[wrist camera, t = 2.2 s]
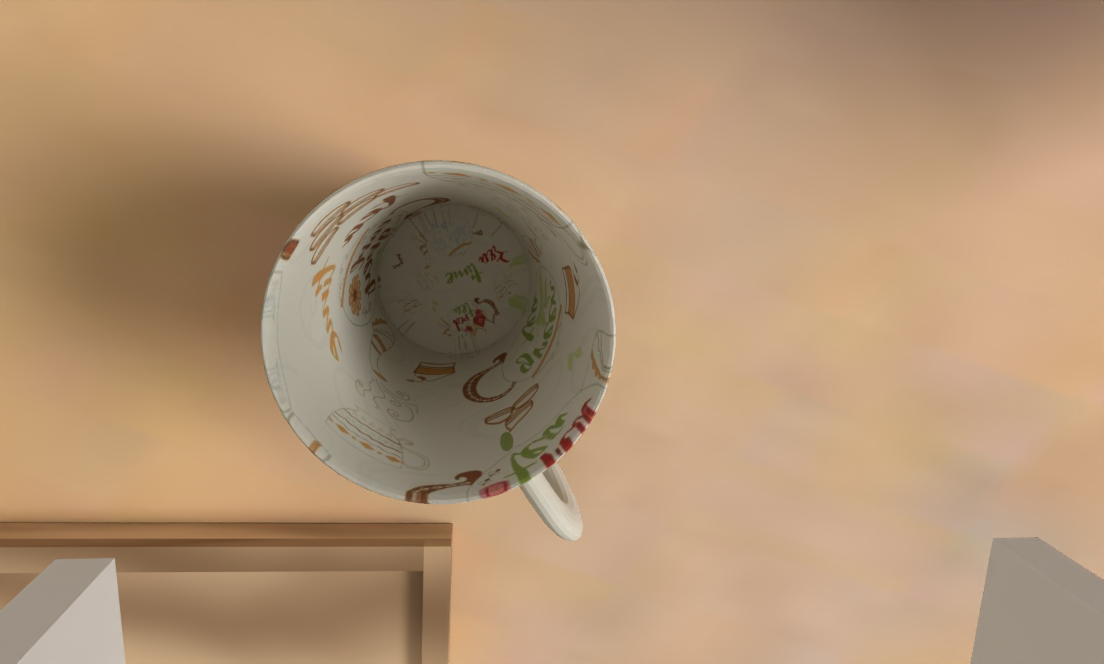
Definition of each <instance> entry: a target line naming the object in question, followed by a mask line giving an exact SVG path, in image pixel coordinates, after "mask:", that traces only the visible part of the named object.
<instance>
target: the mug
mask: <svg viewBox="0 0 1104 664" xmlns="http://www.w3.org/2000/svg"><path fill="white" fill-rule="evenodd" d="M260 334H261V350H262V356H263V363H264V368H265V371H266V375H267V379H268V383H269V385H270V388H271V391H272V393H273V396H274V398H275V400H276V402H277V404H278V406H279V408H280V410H281V412H282V414H283V416H284V418H285V419H286V421H287V422H288V424H289V425H290V427H291V428H292V430H293V431H294V432H295V434H296V435H297V436H298V438H299V439H300V440H301V441H302V442H303V443H304V445H305V446H306V447H307V448H308V449H309V450H310V451H311V452H312V453H313V454H314V455H315V456H316V457H318V458H319V459H320V460H321V461H322V462H323V463H324V464H326V465H327V466H328V467H330V468H331V469H332V470H334V471H335V472H337V473H338V474H339V475H341V476H343V477H344V478H346V479H348V480H349V481H351V482H353V483H355V484H357V485H359V486H361V487H363V488H365V489H367V490H370V491H373V492H375V493H378V494H381V495H384V496H387V497H391V498H394V499H398V500H403V501H409V502H415V503H424V504H456V503H465V502H471V501H476V500H481V499H485V498H489V497H492V496H496V495H499V494H502V493H504V492H507V491H509V490H512V489H514V488H516V487H518V486H519V487H520V488H521V490H522V491H523V493H524V495H525V496H526V498H527V499H528V501H529V502H530V504H531V505H532V506H533V508H534V509H535V511H536V512H537V513H538V515H539V516H540V517H541V519H542V520H543V522H544V523H545V524H546V525H547V526H548V527H549V528H550V529H551V530H552V531H553V532H554V533H555V534H556V535H557V536H559V537H561V538H563V539H565V540H568V541H575V540H577V539H578V538H579V537H580V536H581V533H582V529H583V525H582V519H581V514H580V511H579V508H578V505H577V502H576V499H575V497H574V495H573V493H572V491H571V488H570V486H569V484H568V482H567V480H566V478H565V476H564V474H563V472H562V470H561V468H560V467H559V465H558V463H557V461H558V460H559V459H560V458H561V457H562V456H563V455H564V454H565V453H567V451H568V450H569V449H570V448H571V447H572V446H573V445H574V444H575V443H576V442H577V440H578V439H579V438H580V436H581V435H582V434H583V432H584V431H585V430H586V428H587V427H588V425H589V424H590V422H591V420H592V419H593V417H594V415H595V414H596V412H597V410H598V408H599V406H600V403H601V401H602V399H603V397H604V394H605V391H606V389H607V386H608V383H609V379H610V375H611V371H612V367H613V361H614V354H615V343H616V324H615V314H614V306H613V301H612V296H611V292H610V289H609V285H608V282H607V279H606V276H605V273H604V271H603V269H602V266H601V264H600V262H599V260H598V258H597V256H596V254H595V252H594V250H593V248H592V247H591V245H590V244H589V242H588V241H587V239H586V238H585V236H584V235H583V233H582V232H581V231H580V229H579V228H578V227H577V226H576V225H575V223H574V222H573V221H572V220H571V219H570V218H569V217H568V216H567V215H566V214H565V213H564V212H563V211H562V210H561V209H560V208H559V207H558V206H557V205H556V204H555V203H553V202H552V201H551V200H550V199H548V198H547V197H546V196H545V195H543V194H542V193H540V192H539V191H537V190H536V189H534V188H532V187H531V186H529V185H528V184H526V183H524V182H522V181H520V180H518V179H516V178H514V177H512V176H509V175H507V174H504V173H502V172H499V171H497V170H494V169H490V168H487V167H484V166H480V165H475V164H470V163H464V162H457V161H443V160H439V161H418V162H410V163H403V164H399V165H394V166H390V167H386V168H383V169H380V170H377V171H374V172H371V173H369V174H367V175H364V176H362V177H360V178H358V179H355V180H353V181H352V182H350V183H348V184H346V185H345V186H343V187H341V188H340V189H338V190H337V191H335V192H334V193H332V194H331V195H330V196H328V197H327V198H325V199H324V200H323V201H322V202H321V203H320V204H318V205H317V206H316V207H315V208H314V209H313V210H312V211H311V212H310V213H309V214H308V215H307V216H306V217H305V218H304V219H303V220H302V222H301V223H300V224H299V225H298V226H297V228H296V229H295V230H294V232H293V233H292V234H291V236H290V237H289V239H288V240H287V242H286V243H285V245H284V247H283V249H282V250H281V252H280V254H279V256H278V258H277V260H276V262H275V265H274V267H273V269H272V272H271V274H270V277H269V280H268V284H267V287H266V291H265V295H264V300H263V306H262V313H261V329H260Z"/></svg>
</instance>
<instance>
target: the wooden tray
mask: <svg viewBox="0 0 1104 664" xmlns="http://www.w3.org/2000/svg"><path fill="white" fill-rule="evenodd" d="M452 526H453V524H387V523H0V610H1V609H2V608H4V607H5V606H6V605H7V604H8V603H9V602H10V601H11V600H12V599H13V598H14V597H15V596H16V595H18V594H19V593H20V592H21V591H22V590H23V589H24V588H25V587H26V586H27V585H28V584H29V583H30V582H32V581H33V580H34V579H35V578H36V577H37V576H38V575H39V574H40V573H41V572H42V571H43V570H44V569H46V568H47V567H48V566H49V565H50V564H51V563H52V562H53V561H54V560H55V559H93V558H115V566H116V575H117V585H118V595H119V605H120V615H121V624H122V634H123V644H124V654H125V663H126V664H449V634H450V598H451V562H452Z"/></svg>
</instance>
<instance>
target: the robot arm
mask: <svg viewBox="0 0 1104 664" xmlns="http://www.w3.org/2000/svg"><path fill="white" fill-rule="evenodd" d="M0 664H126V663H125V654H124V644H123V634H122V624H121V615H120V605H119V595H118V585H117V575H116V566H115V558H93V559H55V560H54V561H53V562H52V563H51V564H50V565H49V566H48V567H47V568H46V569H44V570H43V571H42V572H41V573H40V574H39V575H38V576H37V577H36V578H35V579H34V580H33V581H32V582H30V583H29V584H28V585H27V586H26V587H25V588H24V589H23V590H22V591H21V592H20V593H19V594H18V595H16V596H15V597H14V598H13V599H12V600H11V601H10V602H9V603H8V604H7V605H6V606H5V607H4V608H2V609H1V610H0ZM971 664H1104V580H1103V579H1101V578H1100V577H1098V576H1097V575H1095V574H1093V573H1092V572H1090V571H1089V570H1087V569H1086V568H1084V567H1083V566H1081V565H1079V564H1078V563H1076V562H1075V561H1073V560H1072V559H1070V558H1069V557H1067V556H1066V555H1064V554H1062V553H1061V552H1059V551H1058V550H1056V549H1055V548H1053V547H1052V546H1050V545H1049V544H1047V543H1045V542H1044V541H1042V540H1041V539H1039V538H1038V537H1029V538H993V541H992V547H991V553H990V558H989V564H988V569H987V575H986V580H985V586H984V592H983V597H982V603H981V608H980V614H979V619H978V625H977V631H976V636H975V642H974V647H973V653H972V658H971Z"/></svg>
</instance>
